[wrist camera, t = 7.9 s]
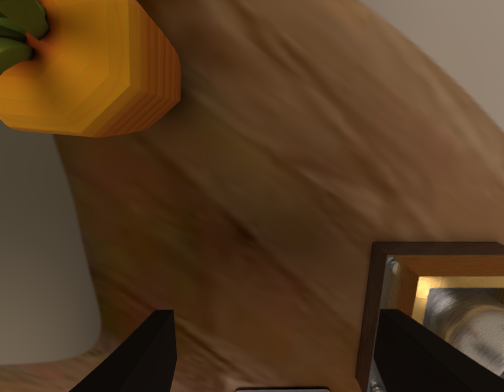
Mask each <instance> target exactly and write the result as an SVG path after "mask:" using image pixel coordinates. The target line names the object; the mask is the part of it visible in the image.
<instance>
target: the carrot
mask: <svg viewBox="0 0 504 392" xmlns="http://www.w3.org/2000/svg"><path fill="white" fill-rule="evenodd" d="M180 100H181V66H180V61H179V57H178V54H177V52H176V50H175V49H174V47H173V46H172V45H171V43H170V42H169V40H168V39H167V38H166V36H165V35H164V34H163V33H162V31H161V30H160V29H159V28H158V26H157V25H156V24H155V23H154V22H153V20H152V19H151V18H150V17H149V15H148V14H147V13H146V12H145V11H144V9H143V8H142V7H141V6H140V4H139V3H138V2H137V1H136V0H0V119H1V120H2V121H3V122H4V123H5V124H6V125H7V126H8V127H11V128H14V129H17V130H20V131H31V132H42V133H53V134H64V135H75V136H86V137H97V138H101V137H108V136H115V135H122V134H128V133H132V132H137V131H141V130H145V129H147V128H148V127H150V126H152V125H153V124H155V123H156V122H157V121H158V120H160V119H161V118H162V117H163V116H164V115H165V114H166V113H167V112H168V111H170V110H171V109H172V108H173V107H174V106H175V105H176V104H177V103H178V102H179V101H180Z"/></svg>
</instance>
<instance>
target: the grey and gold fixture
mask: <svg viewBox="0 0 504 392" xmlns="http://www.w3.org/2000/svg"><path fill="white" fill-rule="evenodd" d="M429 288H481V289H482V290H483V291H485V292H486V293H488V294H489V295H491V296H492V297H493V298H495V299H496V300H498V301H499V302H500V303H502V304H503V305H504V245H502V244H500V243H498V242H373V248H372V256H371V264H370V271H369V279H368V286H367V294H366V302H365V309H364V317H363V324H362V332H361V340H360V347H359V355H358V362H357V370H356V379H357V381H358V383H359V386H360V388H361V390H362V392H387V391H386V388H385V386H384V384H383V381H382V379H381V376H380V374H379V371H378V369H377V366H376V363H375V361H374V358H373V354H374V347H375V340H376V334H377V327H378V320H379V313H380V309H398V310H400V311H402V312H403V313H405V314H407V315H408V316H410V317H411V318H413V319H414V320H416V321H417V322H418V323H420V324H421V325H422V324H423V319H424V314H425V309H426V303H427V298H428V293H429Z"/></svg>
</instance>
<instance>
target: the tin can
mask: <svg viewBox="0 0 504 392" xmlns="http://www.w3.org/2000/svg"><path fill="white" fill-rule="evenodd" d="M422 325H423V326H424V327H426V328H427V329H429V330H430V331H432V332H433V333H434V334H436V335H437V336H439V337H440V338H442V339H443V340H445V341H446V342H448V343H449V344H451V345H452V346H453V347H455V348H456V349H458V350H459V351H461V352H462V353H464V354H465V355H467V356H468V357H470V358H471V359H473V360H475V361H476V362H478V363H479V364H481V365H482V366H484V367H485V368H487V369H489V370H490V371H492V372H493V373H495V374H497V375H498V376H500V377H501V378H503V379H504V305H503V304H502V303H500V302H499V301H498V300H496V299H495V298H493V297H492V296H491V295H489V294H488V293H486V292H485V291H483V290H482V289H481V288H429V293H428V298H427V303H426V309H425V314H424V319H423V324H422Z"/></svg>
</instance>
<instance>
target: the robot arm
mask: <svg viewBox="0 0 504 392" xmlns="http://www.w3.org/2000/svg"><path fill="white" fill-rule="evenodd" d="M373 358H374V361H375V363H376V366H377V369H378V371H379V374H380V376H381V379H382V381H383V384H384V386H385V388H386V391H387V392H504V379H503V378H501V377H500V376H498V375H497V374H495V373H493V372H492V371H490V370H489V369H487V368H485V367H484V366H482V365H481V364H479V363H478V362H476V361H475V360H473V359H471V358H470V357H468V356H467V355H465V354H464V353H462V352H461V351H459V350H458V349H456V348H455V347H453V346H452V345H451V344H449V343H448V342H446V341H445V340H443V339H442V338H440V337H439V336H437V335H436V334H434V333H433V332H432V331H430V330H429V329H427V328H426V327H424V326H423V325H421V324H420V323H418V322H417V321H416V320H414V319H413V318H411V317H410V316H408V315H407V314H405V313H403V312H402V311H400V310H398V309H380V313H379V320H378V327H377V334H376V340H375V347H374V354H373ZM176 361H177V351H176V338H175V324H174V311H173V310H155V311H154V312H153V313H152V314H151V315H150V316H149V317H148V318H147V319H146V320H145V321H144V322H143V323H142V324H141V325H140V326H139V327H138V328H137V329H136V330H135V331H134V332H133V333H132V334H131V335H130V336H129V337H128V338H127V339H126V340H125V341H124V342H123V343H122V344H121V345H120V346H119V347H118V348H117V349H116V350H115V351H114V352H113V353H111V354H110V355H109V356H108V357H107V358H106V359H105V360H104V361H103V362H102V363H101V364H100V365H99V366H98V367H96V368H95V369H94V370H93V371H92V372H91V373H90V374H89V375H87V376H86V377H85V378H84V379H83V380H82V381H81V382H80V383H78V384H77V385H76V386H75V387H74V388H73V389H71V390H70V391H69V392H170V389H171V384H172V380H173V375H174V371H175V366H176ZM236 392H330V391H329V390H327V389H301V390H238V391H236Z"/></svg>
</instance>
